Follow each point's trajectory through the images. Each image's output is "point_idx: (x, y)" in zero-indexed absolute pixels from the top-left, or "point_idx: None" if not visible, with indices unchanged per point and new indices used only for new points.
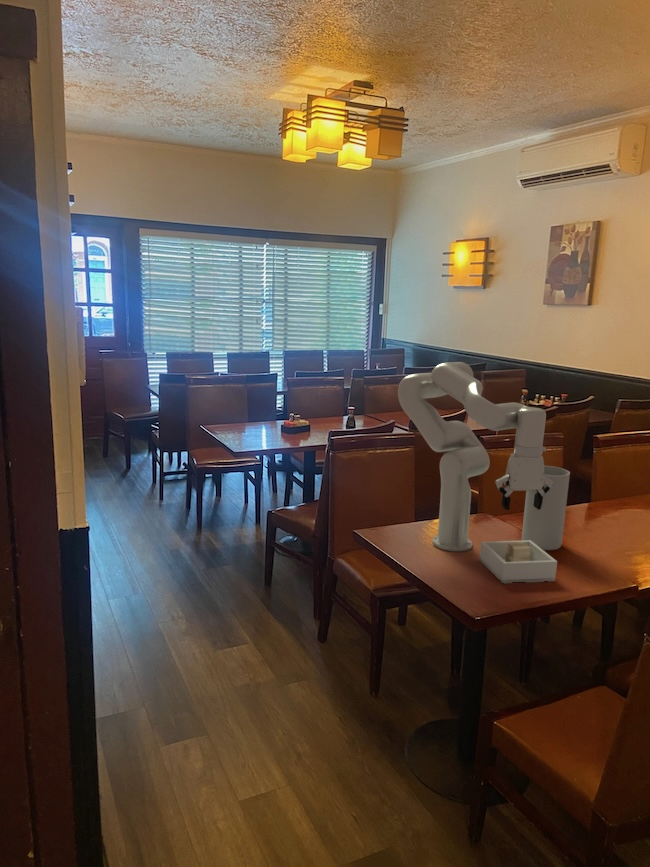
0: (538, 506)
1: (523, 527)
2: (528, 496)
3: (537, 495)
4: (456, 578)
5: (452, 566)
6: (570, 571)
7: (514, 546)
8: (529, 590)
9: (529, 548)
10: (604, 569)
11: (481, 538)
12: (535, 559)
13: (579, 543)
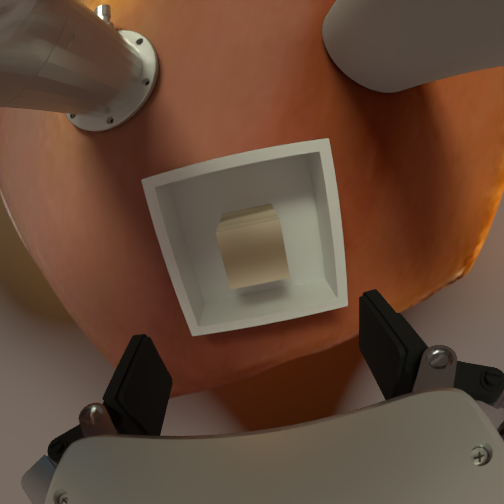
0: (365, 357)
1: (334, 15)
2: None
3: (396, 382)
4: (106, 288)
5: (95, 226)
6: (389, 220)
7: (235, 271)
8: (255, 329)
9: (285, 277)
10: (454, 205)
11: (203, 16)
12: (317, 201)
13: None
